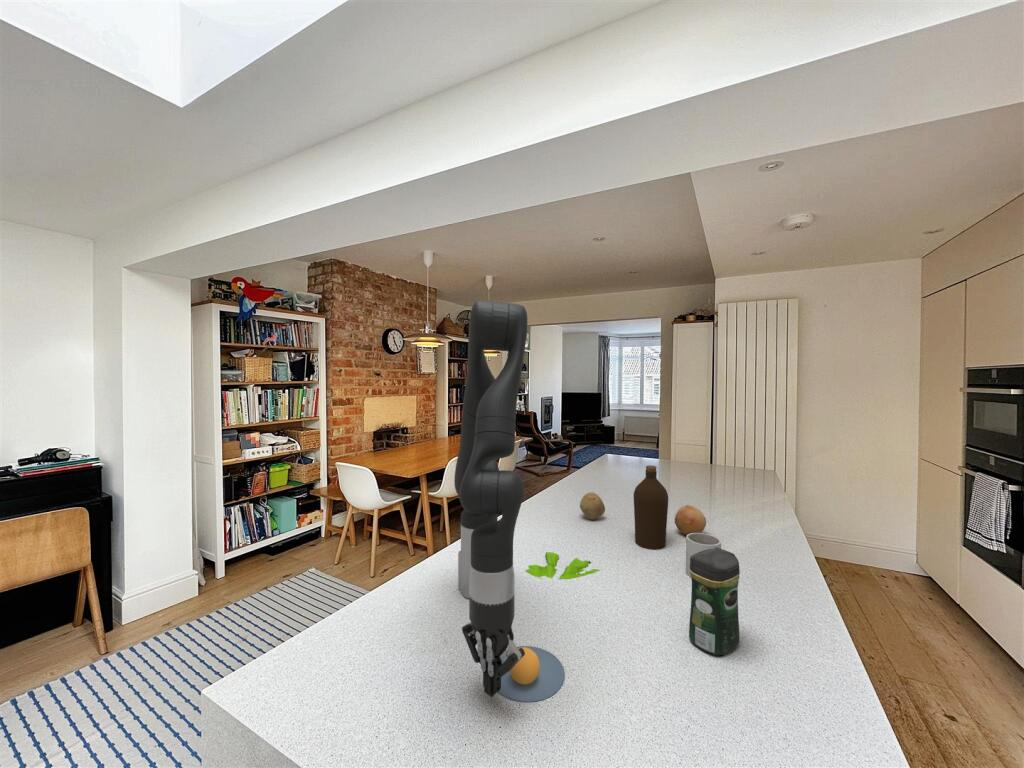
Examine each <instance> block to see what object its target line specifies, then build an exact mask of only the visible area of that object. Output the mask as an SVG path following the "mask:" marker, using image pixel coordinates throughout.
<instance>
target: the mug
mask: <svg viewBox="0 0 1024 768" xmlns="http://www.w3.org/2000/svg"><path fill="white" fill-rule="evenodd" d="M685 541H686V544H685V546H686V547H685V575H687V577H688V576H689V578H690V579H691V575H690V570H689V569H690V557H691V556H692V555H694V554H696V553H698V552H701V551H704V550H707V549H713V548H715V547H717V548H720V549H722V540H721V539H720V538H719V537H717V536H715V535H712V534H709V533H703V532H702V533H690V534H688V535H686V540H685Z"/></svg>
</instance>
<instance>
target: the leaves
mask: <svg viewBox="0 0 1024 768" xmlns="http://www.w3.org/2000/svg"><path fill="white" fill-rule="evenodd" d="M559 555H560V554H557V553H554V552H551V551H549V552H548V551H545V555H544V556H545V558H546V560H547V565H545V566H541V565H538V564H530V565H528V569H527V568H526V569H525V572H526V573H528V574H529V575H531V576H534V577H536V578H538V579H540V580H543V578H541V577H545V578H550V579H551V580H552V579H553V578H554V576H555V575H556V574H557V571H558V569H557V568H556V567H557V564H558V561H559V560H560V556H559ZM589 564H592V562H591V561H590V560H580V559H579V558H578V557H575V558H574V559H573V560H572V561H571V562H570V563H569V564H568V565H566V566H565V569H564V572H563V573H562V574H560V576H559V577H558V580H573V579H577V578H581V577H584V576H588V575H591V574H594V573H595V574H596V573H597V572H600V571H601V569H597V568H593V569H591V570H588V571H587V570H585V569H587V568H588V567H589Z"/></svg>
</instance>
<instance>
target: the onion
mask: <svg viewBox="0 0 1024 768" xmlns="http://www.w3.org/2000/svg"><path fill="white" fill-rule="evenodd" d="M674 525H675V526H676V528H677V529H678V530H679V532H681V533H682V534H683V535H686V536H687V535H688V534H690V533H703V531H704V530H705V529H706V525H707V519H706V516H705V515H704V513H703V512H702V511H701V510H700V509H699V508H697V507H696V506H694V505H690V504H685V505H683V506H681V507H680V508H679V509H678V510H677V511H676V513H675V515H674Z"/></svg>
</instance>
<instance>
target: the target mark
mask: <svg viewBox="0 0 1024 768" xmlns="http://www.w3.org/2000/svg"><path fill="white" fill-rule="evenodd" d="M516 647H517V648H518V649H519V648H523V647H525V648H529V649H531V650H533V651H534V652H535V654H536V655H537V657H538V659H539V663H540V669H539V674H538V676H537V678H536V679H535V680H534V681H533V682H532V683H530V684H527V685H522V684H519V683H517V682H516V681H515V680H514V679H513V678H512V676H511V674H510V671H508V672H507V673H506V674H505V675H503V676H502V677H501V689H500V691H499V692H498V693H497V694H499V695H501V696H502V697H504V698H506V699H509V700H512V701H516V702H520V703H536V702H540V701H544V700H547V699H549V698H551V697H553V696H554V695H555V694H556V693H558V691H560V690H561V689H562V686H563V685H564V682H565V678H566V677H565V676H566V675H565V674H566V672H565V668H564V666H563V663H562V662H561V661H560V660H559V658H558V657H557V656H555V655H554V654H553V653H551V652H550V651H548V650H546V649H544V648H541V647H536V646H531V645H530V646H529V645H519V646H516ZM506 655H507V649H506ZM506 655H505V656H506ZM505 656H504V660H503V663H504V662H505V661H506V658H505Z"/></svg>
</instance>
